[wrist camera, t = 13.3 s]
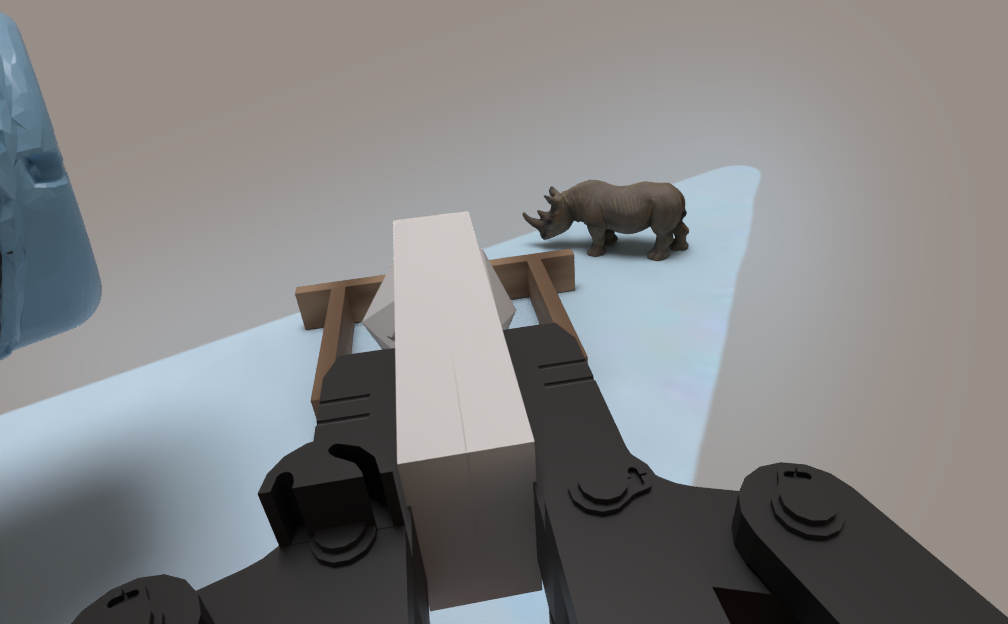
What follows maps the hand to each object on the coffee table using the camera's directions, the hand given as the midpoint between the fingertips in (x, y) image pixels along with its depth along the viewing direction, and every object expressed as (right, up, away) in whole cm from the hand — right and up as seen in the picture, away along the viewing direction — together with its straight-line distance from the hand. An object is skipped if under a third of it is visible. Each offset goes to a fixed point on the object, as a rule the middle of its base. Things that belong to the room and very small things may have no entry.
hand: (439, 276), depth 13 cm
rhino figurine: (+10, +4, +39) cm, 41 cm away
